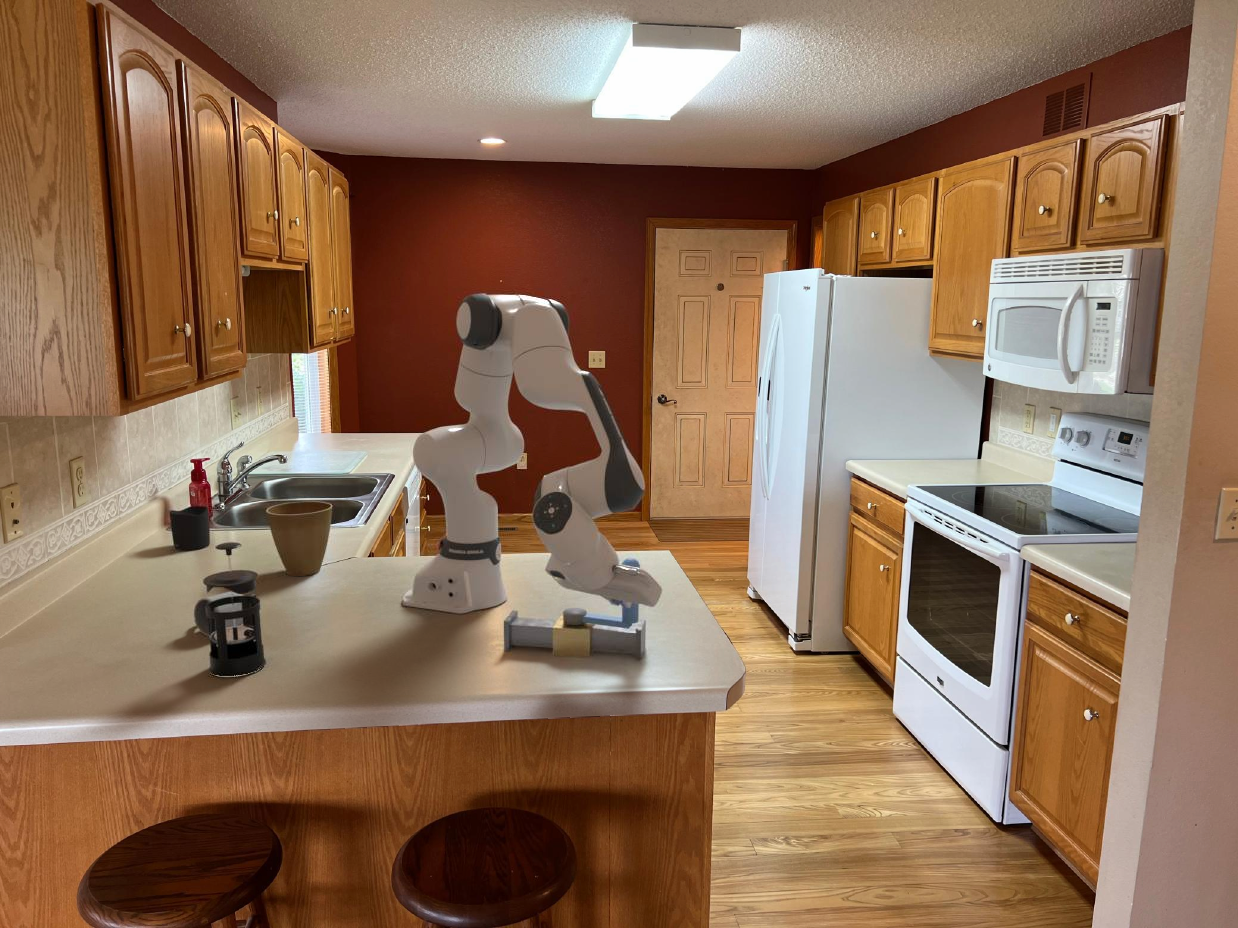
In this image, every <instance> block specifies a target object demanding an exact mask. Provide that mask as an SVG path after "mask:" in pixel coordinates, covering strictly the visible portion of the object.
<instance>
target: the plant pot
mask: <svg viewBox="0 0 1238 928" xmlns="http://www.w3.org/2000/svg"><path fill="white" fill-rule="evenodd" d="M265 512H266V516H267V520H268V525H269V528H270V529H269V530H270V533H271V536H272V539H273V543H274V546H275V548H276V551H277V553H278V556H279V558H280V560H281V562H282V564H283V567H284V569H285V571H286V574H288V575H289V576H293V577H304V576H305V577H306V576H312V575H315V574H317V573H319V572H320V571H321V568H322V565H323V561H324V559H325V555H326V551H327V546H328V543H329V538H330V531H331V525H332V524H331V523H332V516H333V515H332V514H333V505H332V504H331V502H325V501H316V500H315V501H314V500H311V501H310V500H309V501H292V502H285V503H280V504H275V505H272V506H270V507H268V508H267V509H266V510H265Z"/></svg>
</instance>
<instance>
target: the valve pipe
mask: <svg viewBox="0 0 1238 928" xmlns="http://www.w3.org/2000/svg"><path fill="white" fill-rule="evenodd" d="M518 614H519V611H518V610H514V609H513V610H512V611H510V613H509V614H508V616H506V617H505V619H504V620H503V649H504V651H503V652H505V653H506V652H507V653H509V652H511V650H512V649H513V648H514V646H521V647H524V646H525V647H535V648H536V647H539V648H550V649H551V648H552V656H555V657H567V658H568V657H569V658H571V657H572V658H583V659H591V657H592V654H594V652H605V653H606V652H608V653H609V652H610V653H622V654H635V660H634V661H635V662H641V661H642V659H643V656H644V653H645V651H646V639H647V638H646V637H647V635H646V633H647V632H646V625H647V623H646V622H647V621H646V618H641V617H639V618H640V619H639V620H638V622H637V624H632V626H631V627H630V628H629V629H627V628H619V627H612V626H604V625H597V624H589V623H584V624H581V625H568V624H565V623H564V622H563V615H560V616H559V617H558V619H545V618H532V617H519V615H518Z"/></svg>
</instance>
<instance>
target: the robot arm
mask: <svg viewBox="0 0 1238 928" xmlns="http://www.w3.org/2000/svg"><path fill="white" fill-rule="evenodd" d="M455 325H456V332H457V335H458V338H459V340H460V341H461V342H462V344H463V346H462V349H461V353H460V358H459V362H458V363H459V364H458V369H457V373H456V380H455V385H454V390H453V391H454V397H455V399H456V402H457V403H458V404H459V406H460V407H462V408H463V409H464V410H466V411H467V412H469V420H468V421H467V423H464V424H456V425H446V426H440V427H437V428H433V429H430V430H428V431H426V432H422V433H421V434H419V435H418V436H417V438H416V440H415V442H414V444H413V449H412V458H413V462H414V465H415V467H416V469H417V470H418V472H419V473H420V474H421V475H422V476H423V477H425V478H426V479H428V480H429V481H430V482H431V483H433V485H434V486H435V487H436V488H437V490H438V492H439V494H440V496H441V498H442V503H443V506H444V515H445V526H446V533H445V534H443V535H442V538H440V539H439V540H438V542H437V543H436V544H435V545H436V550H438V552H439V553H438V554H436V555H435V556H434V557H432V558H431V559H430V560H429V561H428V562H427V563H425V564H424V565H423V566H422V567H420V568H419V569H418V570H417V572H416V574H415V575H414V578H413V584H412V587H411V588H410V589H409V590H407V591H406V592H405V593H404V594H403V597H402V604H403V606H405V607H406V606H407V607H411V608H412V607H413V608H420V609H427V610H434V611H440V612H447V613H453V614H466V613H470V612H473V611H476V610H477V611H478V610H483V609H489V608H493V607H496V606H499V605H501V604H503V603H504V602H505V601H506V600H507V599H508V595H507V592H506V589H505V586H504V582H503V577H502V572H501V571H502V569H501V564H500V563H501V561H502V560H501V557H502V544H501V536H500V535H499V519H498V518H499V515H498V514H499V513H498V503H497V501H496V499H495V498H494V497H493V496H492V495H490V494H489V493H487V492H485V491H483V490H481V489H480V488H479V486H478V481H477V475H479V474H486V473H493V472H498V471H502V470H504V469H507V468H509V467H512V466H514V465H516V464H518V463H520V461H521V459H522V457H523V455H524V450H525V440H524V437H523V434H522V432H521V430H520V429H519V427H518V426H517V425H516V424H515V423H513V422H512V420H511V417H510V415H509V395H510V390H511V385H512V379H513V375H514V380H515V383H516V385H517V388H518V391H519V392H520V394H521V396H522V397H523V398H524V399H525V400H527V401H528V402H529V403H531V404H533V405H535V406H537V407H540V408H543V409H549V410H560V411H561V410H563V411H577V412H582V413H584V414H585V415H586V416H587V418H588V421H589V422H590V424H591V427H592V430H593V431H594V434H595V438H596V439H597V441H598V443H599V446H600V448H601V453H600V455H599V456H598V457H596V458H594V459H591V460H587V461H584V462H581V463H579V464H576V465H573V466H567V467H565V468H561V469H559V470H556V471H553V472H550V473H548V474H545V475H544V476H542V477H543V478H541V480H540V481H539V484H538V486H537V488H536V491H535V493H534V498H533V499H534V501H533V509H532V515H531V516H532V523H533V526H534V529H535V530H536V533H537V535H538V537H539V539H540V540H541V542H542V544H543V545H544V547H545V548H546V549H547V551H548V553H550V557H549V559H548V560H547V563H546V566H545V569H544V570H545V572H546V573H547V574H548V575H549V576H551V577H552V578H553V580H554V581H555V582H556V583H558V585H559V586H561V588H565V589H567V590H570V591H571V590H572V591H575V592H580V593H586V594H589V595H590V594H591V595H595V596H599V597H601V598H603V599H605V601H608V602H609V603H610V605H613V606H617V607H618V606H621V608H622V607H626V608H630V607H631V604H632V603H636V604H639V605H641V606H644V607H645V606H646V607H650V608H653V607H656V605H657V604H658V602H659V601H660V598H661V597H662V593H663V589H662V586H661V585H660V584H659V583H658V582H657V580H656V579H655V578H654V577H653V576H652V575H651V574H650V573H649V572H648V571H646V570H645V569H643V568H641V567H640V568H637V567H631V566H626V565H622V563H621V564H620V560H619V555H618V553H617V551H616V549H614V547H613V546H612V544H611V543H610V542H609V541H608V539H607V538H606V537H605V535H603V533H601V532H600V531H599V529H598V525H597V524H596V523H595V521H594V519H597V518H600V517H603V516H607V515H610V514H617V513H622V512H627V511H632V510H634V509H635V508H636V507H637V505H638V504H639V503H640V501H642V498H643V496H644V494H645V492H646V485H645V484H646V483H645V478H644V475H643V472H642V470H641V468H640V466H639V464H638V463H637V461H636V459H635V458H634V456H633V454H632V452H631V449H630V448H629V446H628V443H627V441H626V439H625V436H624V434H623V432H622V430H621V427H620V425H619V423H618V419H617V418H616V416H615V413H614V412H613V409H612V407H611V404H610V402H609V401H608V398H607V396H606V394H605V392H604V390H603V388H602V386H601V384H600V383H599V381H598V380H597V378H596V377H595V376H594V375H593V374H592V373H591V372H589V371H585V370H582V369H580V367H579V366H578V365H577V363H576V361H575V357H574V353H573V350H572V346H571V343H570V340H569V339H570V338H569V333H570V317H569V314H568V311H567V309H566V307H565V306H564V305H563V304H562V303H560V302H558V301H557V300H554V299H549V298H545V297H544V298H539V297H534V296H530V295H523V294H487V293H474V294H471V295H467V296H466V297H464V299H463V300H462V301H461V302H460V304H459V306H458V310H457V314H456V324H455Z"/></svg>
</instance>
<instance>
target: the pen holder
mask: <svg viewBox="0 0 1238 928" xmlns="http://www.w3.org/2000/svg"><path fill="white" fill-rule="evenodd" d="M168 513H169V522H170V528H171V534H172V536H171V537H172V543H173V548H174V549H176V550H177V551H181V552H182V551H185V552H186V551H197V550H202V549H204V548H207V547H209V546H210V544H211V535H210V534H211V531H210V510H209V507H208V506H205V505H191V506H188V507H185V508H184V509H181V510H180V509H179V510H174V509H171V510H169V511H168Z"/></svg>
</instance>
